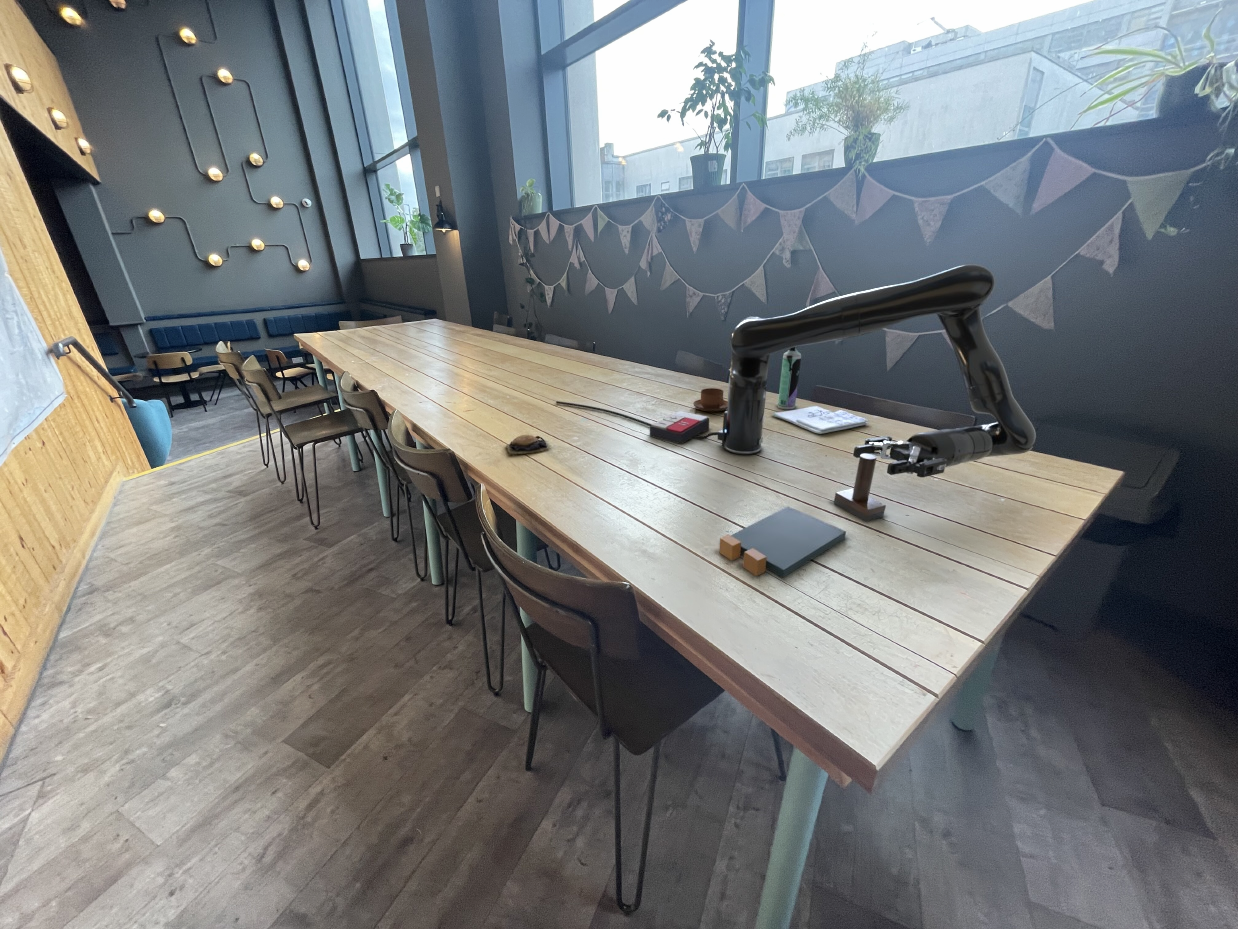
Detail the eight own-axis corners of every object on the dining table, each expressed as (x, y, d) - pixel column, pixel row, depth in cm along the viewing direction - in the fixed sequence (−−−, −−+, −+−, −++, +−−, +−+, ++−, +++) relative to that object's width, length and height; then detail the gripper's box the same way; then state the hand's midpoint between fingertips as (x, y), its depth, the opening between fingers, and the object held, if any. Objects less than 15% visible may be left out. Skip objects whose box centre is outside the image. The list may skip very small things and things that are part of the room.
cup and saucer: (736, 408, 157) (737, 390, 155) (717, 416, 149) (718, 397, 147) (706, 402, 165) (706, 384, 162) (686, 410, 157) (686, 392, 154)
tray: (724, 544, 83) (725, 537, 82) (787, 512, 92) (788, 506, 92) (782, 577, 74) (783, 570, 73) (844, 538, 84) (846, 531, 83)
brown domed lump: (509, 457, 124) (507, 444, 122) (506, 446, 131) (504, 433, 130) (549, 451, 127) (548, 438, 125) (543, 440, 134) (542, 428, 132)
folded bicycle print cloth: (819, 435, 131) (821, 428, 130) (771, 416, 148) (771, 409, 147) (869, 425, 138) (870, 418, 137) (817, 407, 155) (818, 401, 154)
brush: (833, 503, 95) (842, 451, 91) (850, 498, 97) (860, 447, 92) (865, 521, 89) (877, 466, 84) (883, 516, 90) (895, 461, 85)
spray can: (796, 409, 154) (803, 347, 146) (778, 409, 155) (785, 347, 147) (793, 404, 158) (801, 344, 150) (776, 404, 160) (783, 344, 152)
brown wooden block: (727, 548, 82) (718, 552, 81) (728, 534, 81) (719, 537, 80) (740, 557, 79) (731, 561, 78) (741, 541, 78) (732, 545, 77)
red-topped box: (648, 424, 133) (678, 408, 143) (649, 437, 135) (678, 421, 145) (681, 431, 127) (710, 415, 137) (681, 446, 128) (709, 428, 138)
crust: (751, 563, 78) (742, 567, 77) (753, 547, 77) (744, 551, 76) (765, 572, 75) (756, 576, 74) (767, 556, 74) (758, 560, 73)
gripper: (913, 420, 97) (847, 430, 93) (978, 443, 85) (906, 455, 81) (905, 453, 100) (841, 464, 96) (967, 480, 88) (897, 494, 84)
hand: (871, 460), depth 89 cm, fingers open, 8 cm apart
